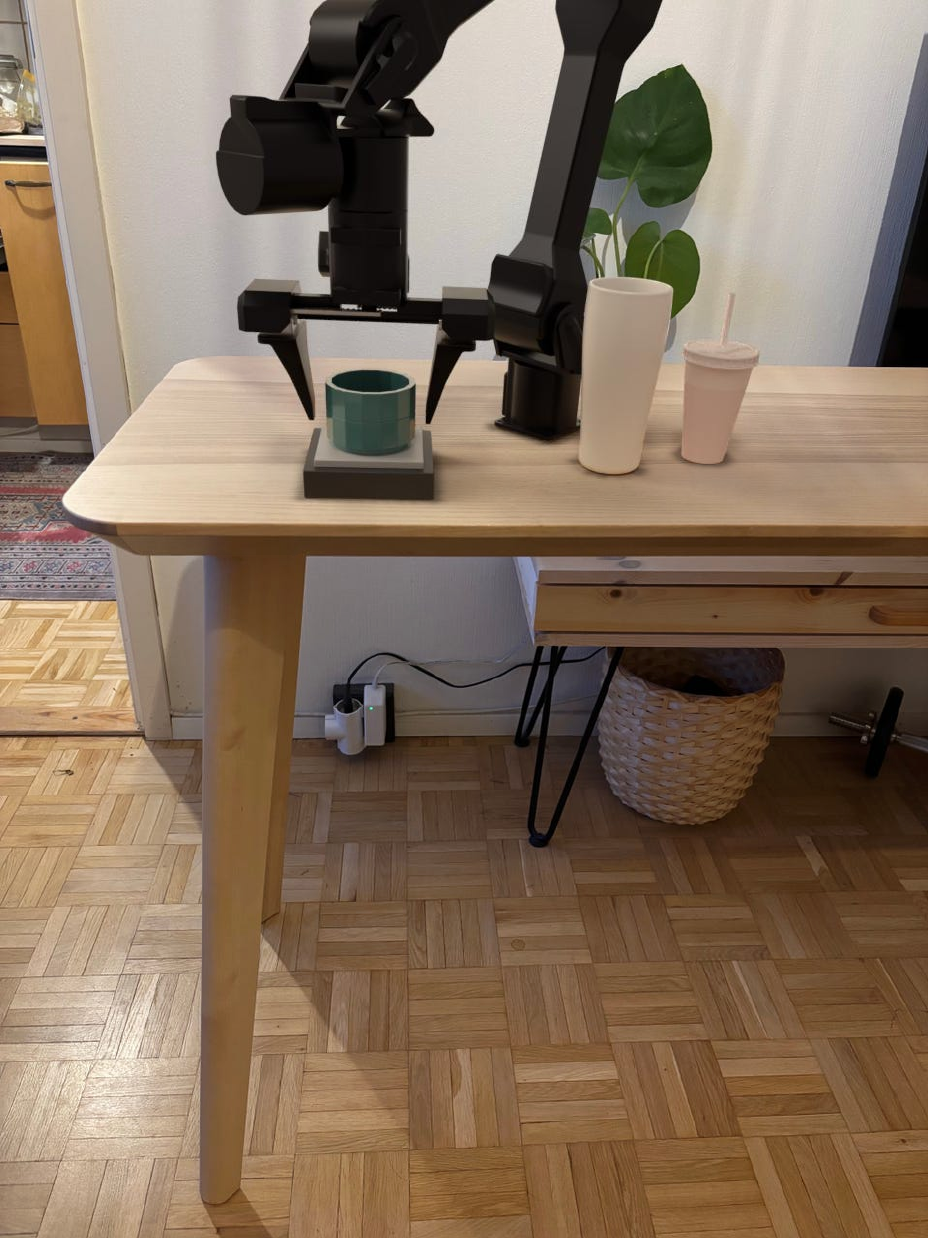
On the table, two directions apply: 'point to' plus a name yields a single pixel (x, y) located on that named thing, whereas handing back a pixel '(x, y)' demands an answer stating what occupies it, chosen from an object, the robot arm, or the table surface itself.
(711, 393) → the smoothie
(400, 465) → the scale
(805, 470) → the table surface
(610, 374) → the white tumbler
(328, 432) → the bowl
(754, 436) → the table surface
